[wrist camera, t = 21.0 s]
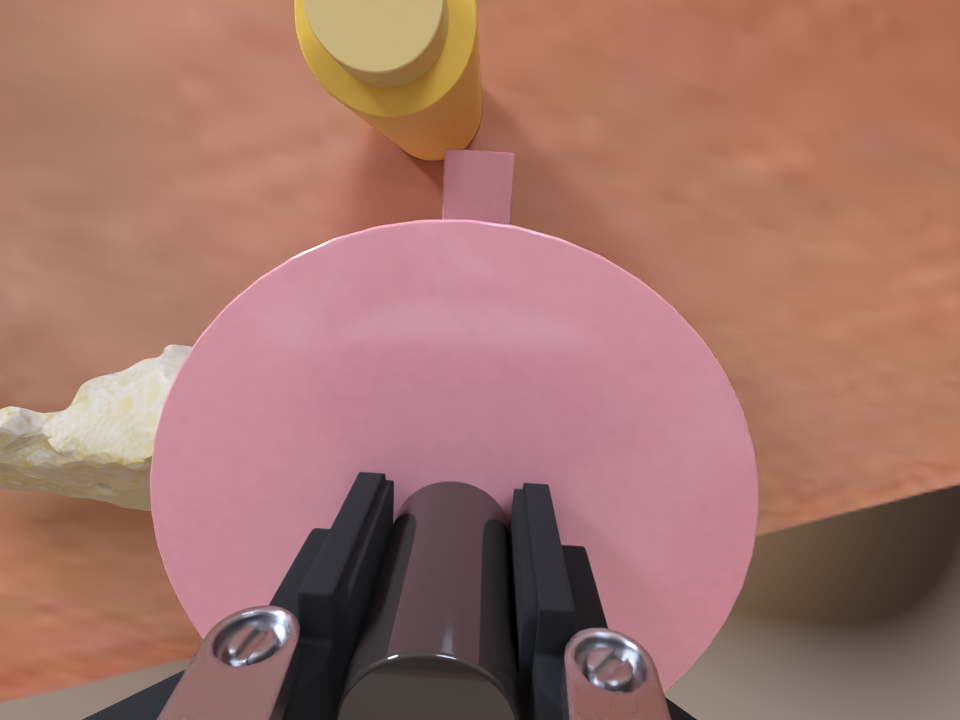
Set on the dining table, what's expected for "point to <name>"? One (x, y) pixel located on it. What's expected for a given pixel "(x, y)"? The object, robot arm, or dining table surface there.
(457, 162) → the pot
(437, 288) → the lid
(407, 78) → the yellow stepped cylinder
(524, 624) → the robot arm
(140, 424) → the cheese
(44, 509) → the dining table surface
